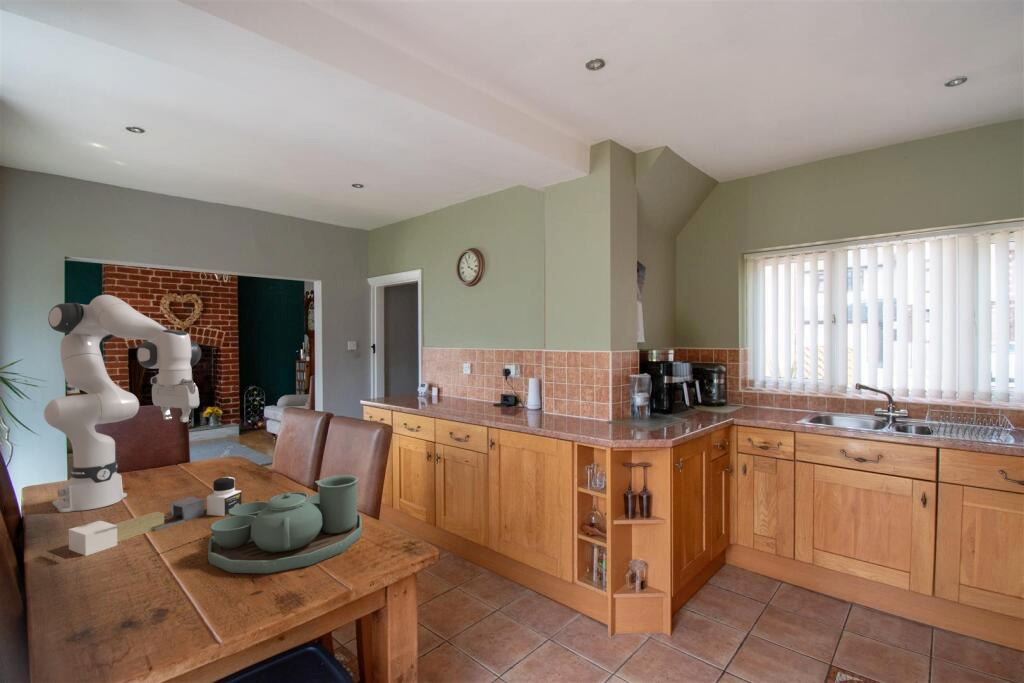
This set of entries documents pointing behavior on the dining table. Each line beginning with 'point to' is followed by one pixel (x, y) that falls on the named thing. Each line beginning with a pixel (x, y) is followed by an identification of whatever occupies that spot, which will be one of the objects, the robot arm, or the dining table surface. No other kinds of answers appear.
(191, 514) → the sleeve
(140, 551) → the dining table surface
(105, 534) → the socket
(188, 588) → the dining table surface
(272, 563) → the tea set
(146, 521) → the olive rectangular bar
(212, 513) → the medicine bottle
